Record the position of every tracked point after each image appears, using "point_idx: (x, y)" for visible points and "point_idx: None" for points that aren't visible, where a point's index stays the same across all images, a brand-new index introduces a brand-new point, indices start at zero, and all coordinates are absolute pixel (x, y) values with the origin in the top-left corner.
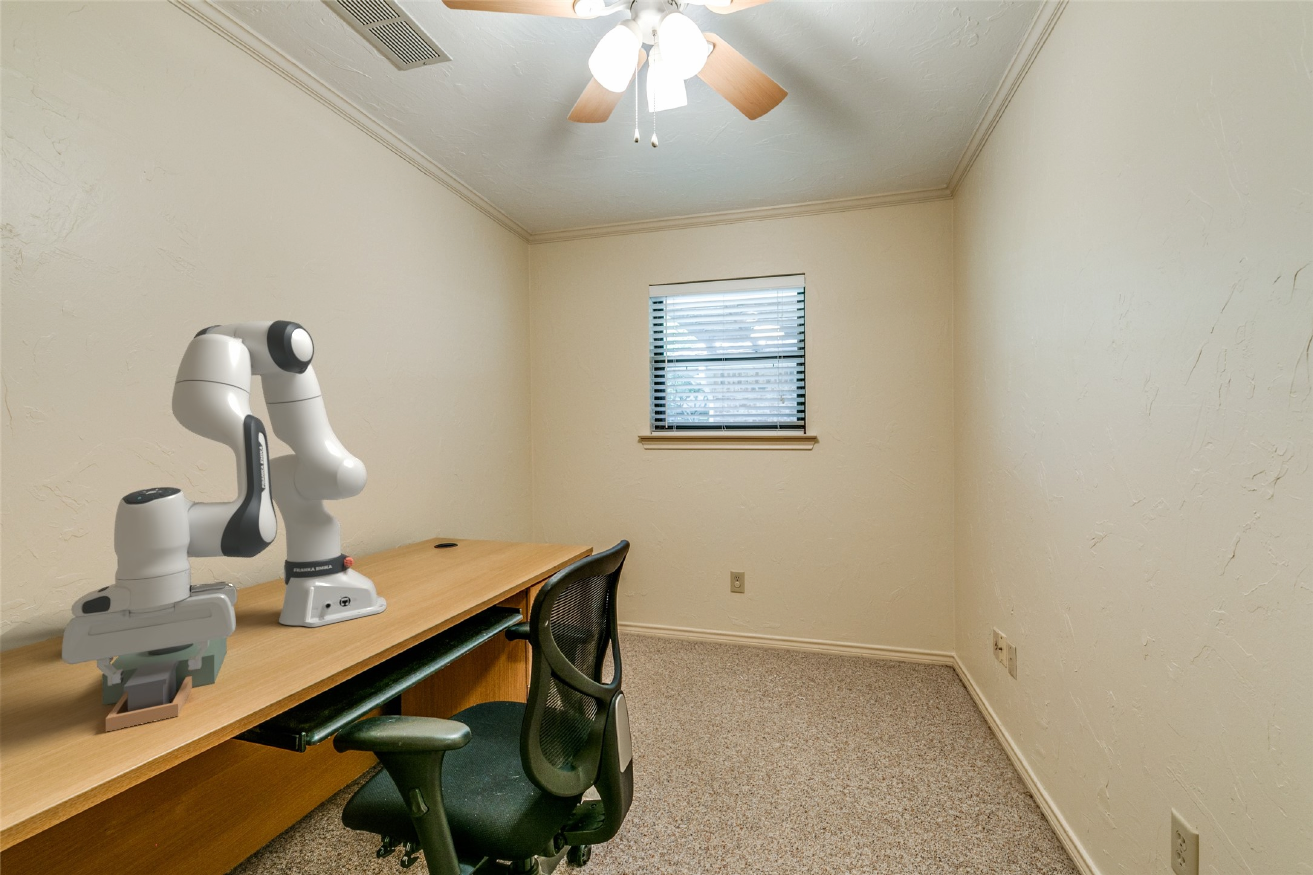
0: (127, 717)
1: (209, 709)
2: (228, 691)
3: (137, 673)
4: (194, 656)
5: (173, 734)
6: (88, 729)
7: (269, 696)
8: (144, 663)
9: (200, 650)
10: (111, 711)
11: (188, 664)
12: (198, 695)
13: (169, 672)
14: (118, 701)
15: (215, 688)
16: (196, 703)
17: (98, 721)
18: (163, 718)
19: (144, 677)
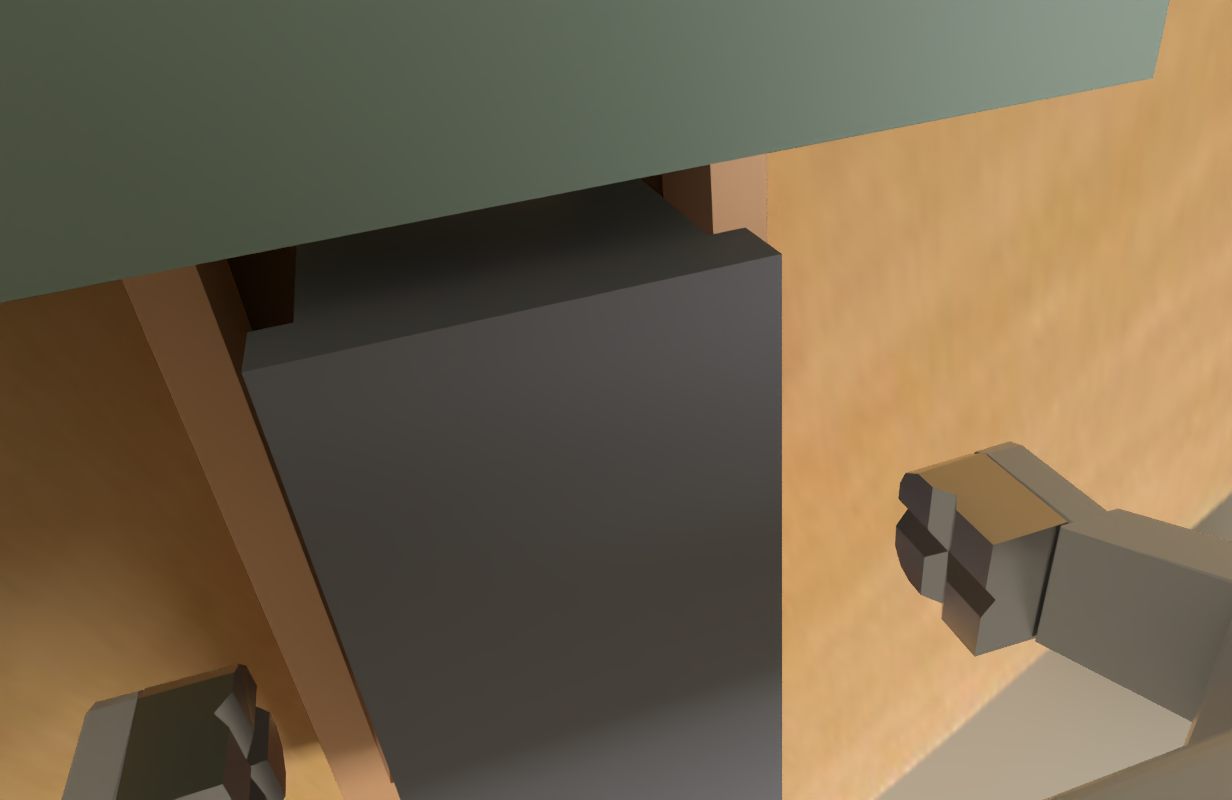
0: None
1: (883, 563)
2: (984, 301)
3: (409, 681)
4: (1034, 541)
5: None
6: (170, 681)
7: (1168, 476)
8: (139, 26)
9: (1174, 710)
10: (321, 734)
11: (943, 617)
12: (791, 298)
13: (776, 715)
14: (243, 560)
15: (899, 185)
16: (800, 451)
17: (150, 573)
18: None
19: (563, 795)
